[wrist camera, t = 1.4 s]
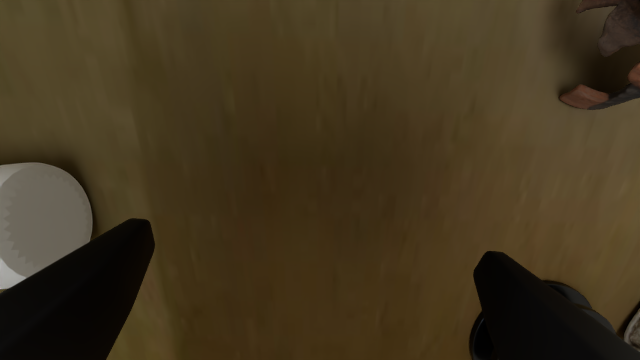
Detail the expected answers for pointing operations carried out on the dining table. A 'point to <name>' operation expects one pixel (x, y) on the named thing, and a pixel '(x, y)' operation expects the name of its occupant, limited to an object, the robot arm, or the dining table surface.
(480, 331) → the stand
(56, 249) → the milk bottle
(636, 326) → the washcloth
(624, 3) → the pottery mug
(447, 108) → the dining table surface
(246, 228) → the dining table surface
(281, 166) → the dining table surface
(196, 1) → the dining table surface
